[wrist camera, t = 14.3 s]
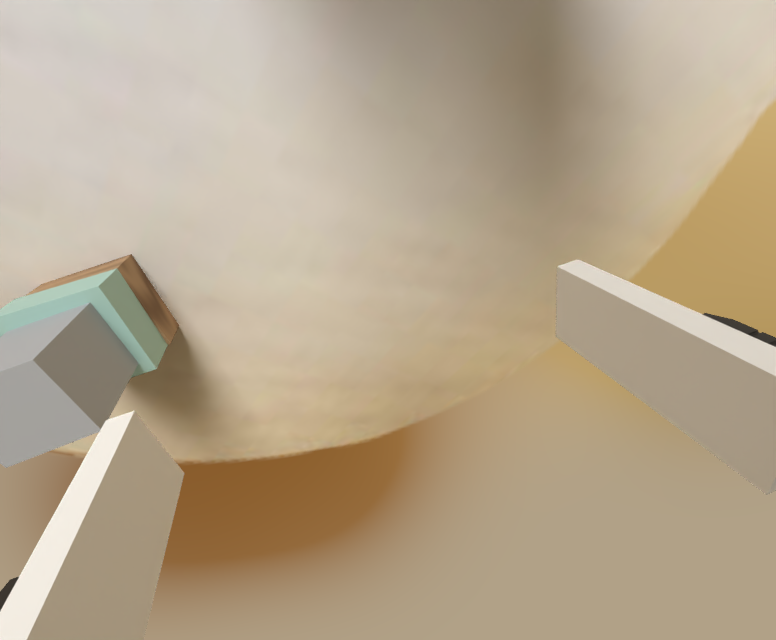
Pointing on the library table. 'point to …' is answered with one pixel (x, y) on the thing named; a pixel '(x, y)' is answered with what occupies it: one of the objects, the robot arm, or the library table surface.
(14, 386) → the grey block
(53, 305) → the tower top block
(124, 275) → the tower base block
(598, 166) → the library table surface
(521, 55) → the library table surface
